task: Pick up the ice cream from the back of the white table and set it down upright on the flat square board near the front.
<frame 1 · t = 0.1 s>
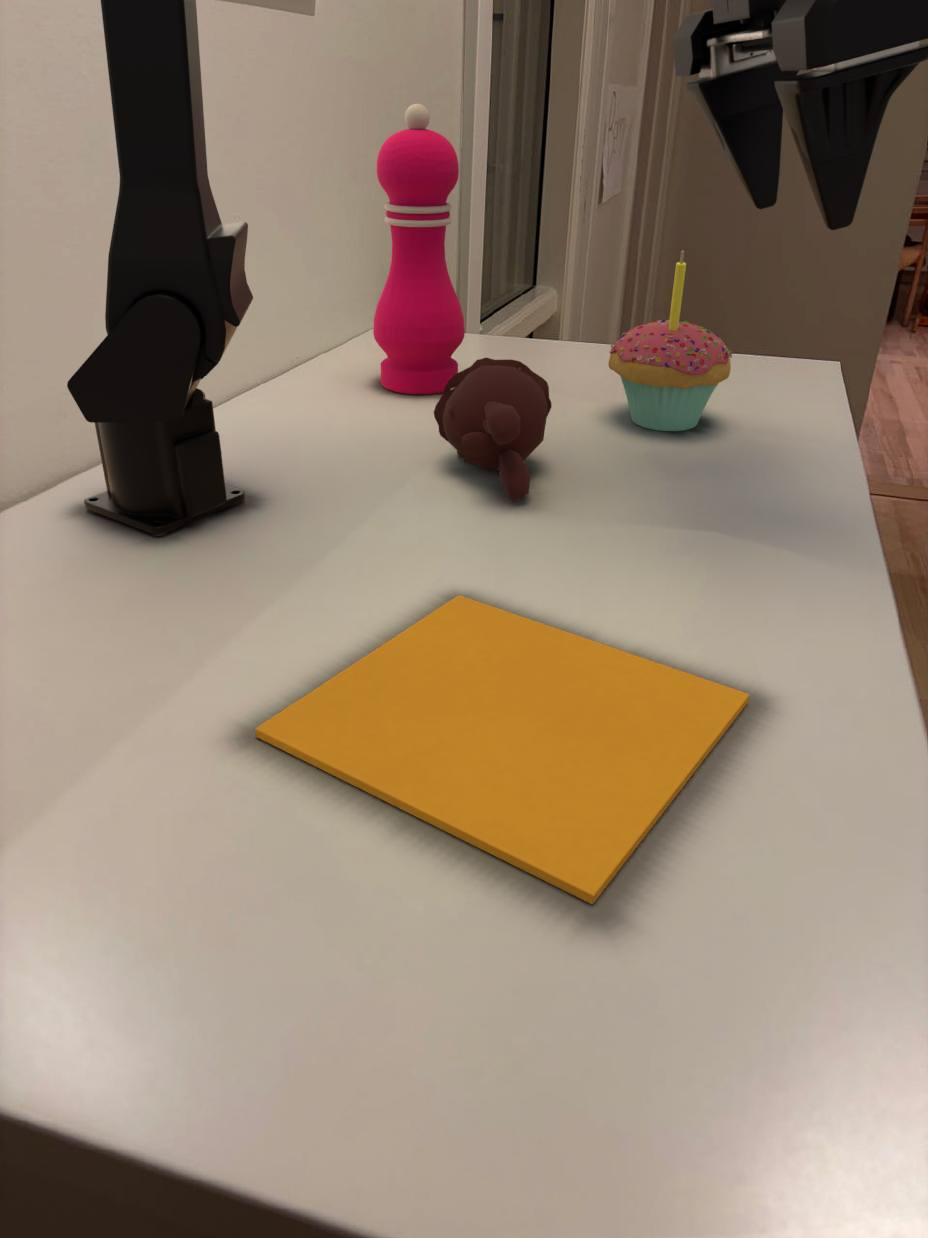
hand: (799, 216, 49), 15 cm above the worktop, tool pointing down, fingers open, 9 cm apart
icecream: (492, 466, 60), on the worktop
flat square board: (510, 719, 36), on the worktop
cupcake: (661, 423, 68), on the worktop
pepper mill: (419, 386, 76), on the worktop
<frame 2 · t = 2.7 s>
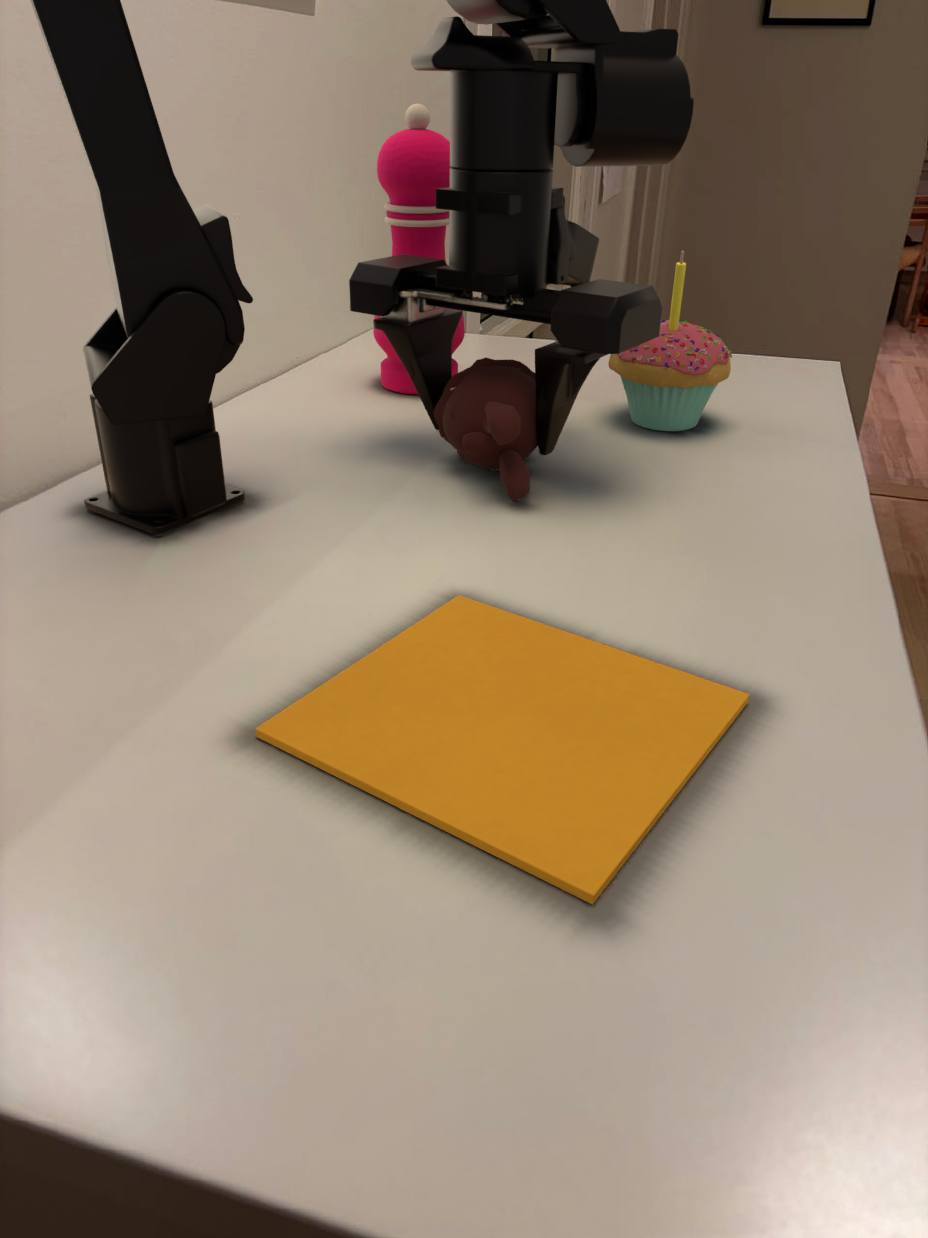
hand: (492, 440, 59), 2 cm above the worktop, tool pointing down, fingers closed on icecream, 7 cm apart
icecream: (492, 466, 60), on the worktop, touching gripper
everything else where it was.
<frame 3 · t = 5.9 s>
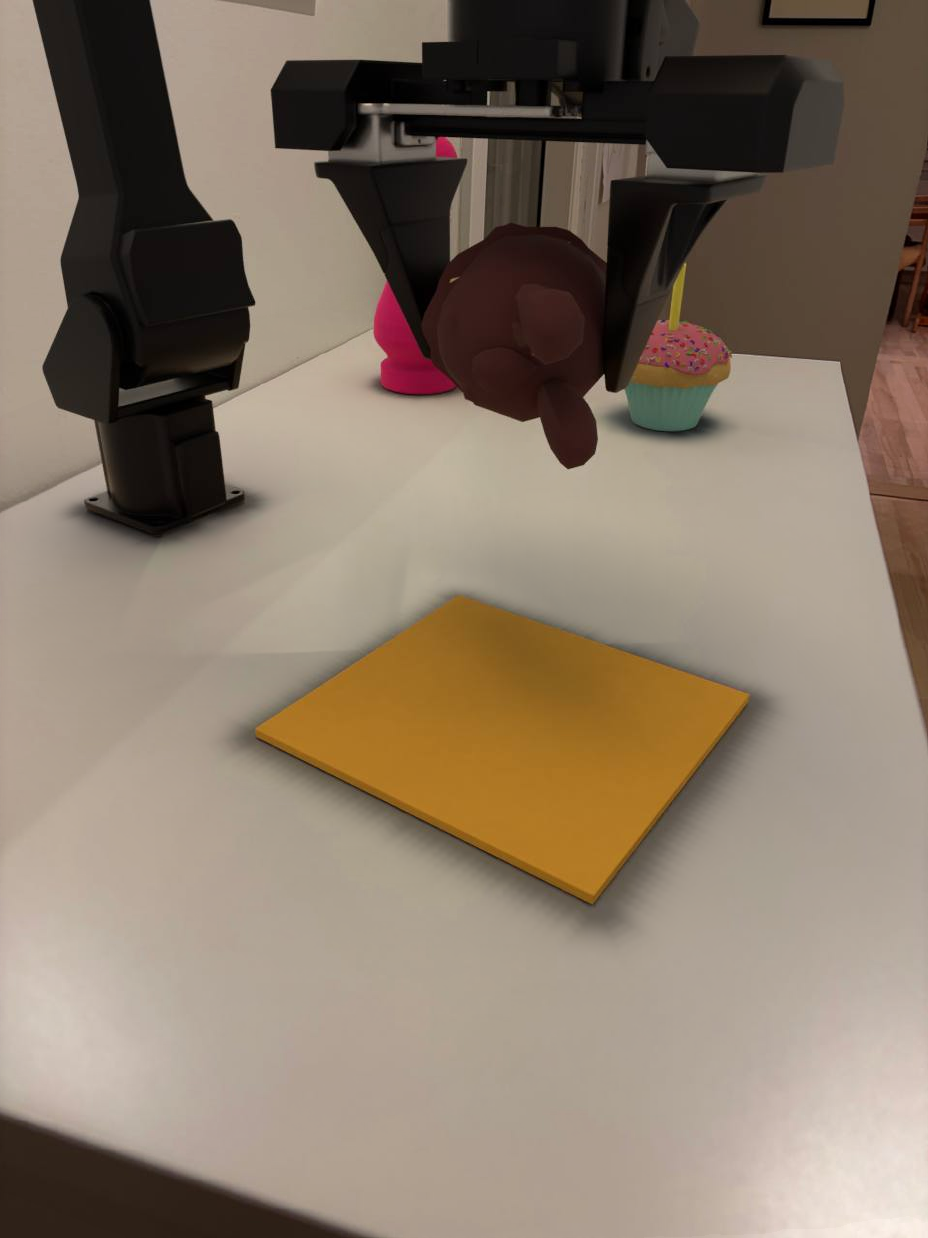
hand: (521, 373, 35), 12 cm above the worktop, tool pointing down, fingers closed on icecream, 7 cm apart
icecream: (520, 417, 36), point 10 cm above the worktop, touching gripper
everything else where it was.
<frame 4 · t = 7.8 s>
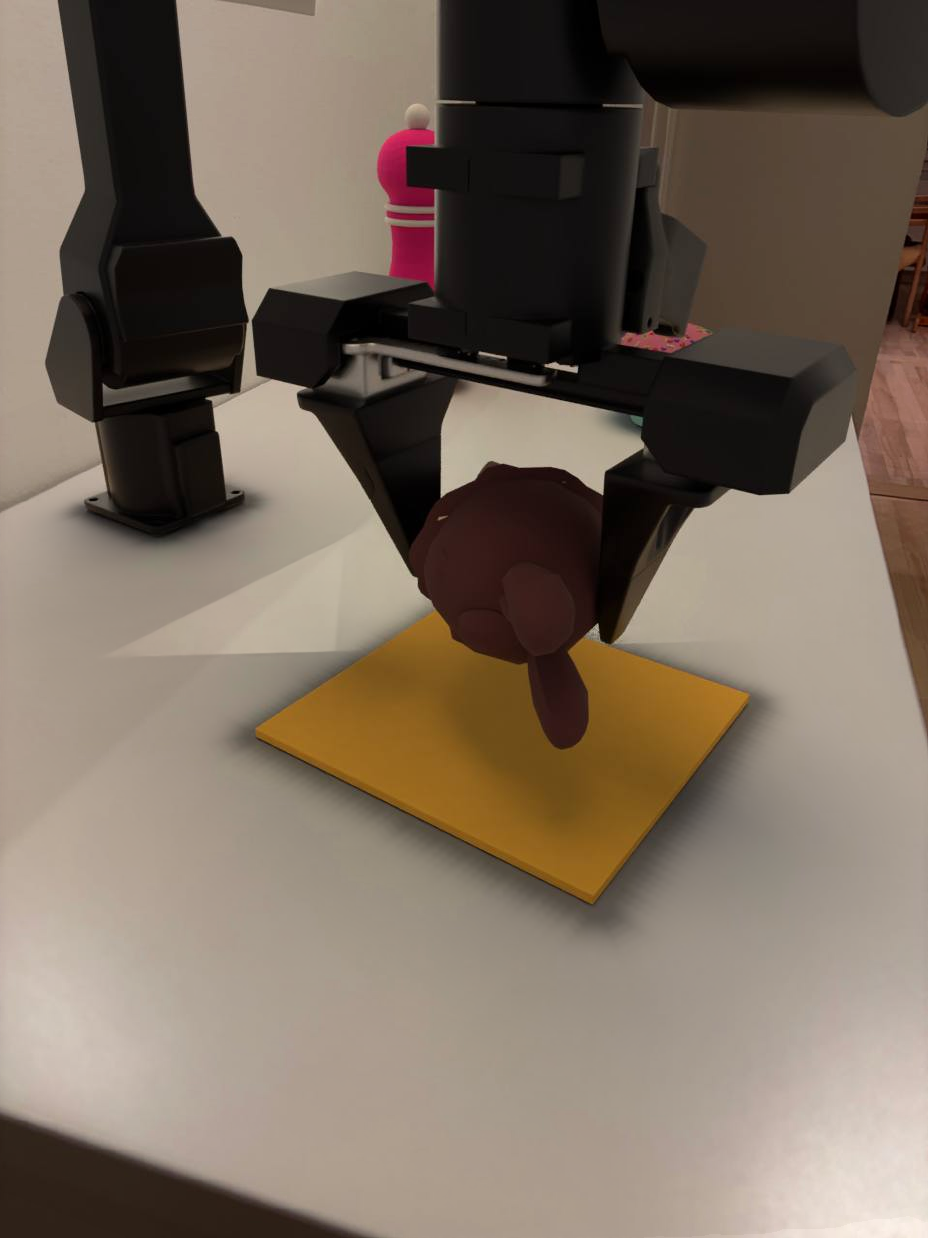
hand: (513, 604, 33), 5 cm above the worktop, tool pointing down, fingers closed on icecream, 7 cm apart
icecream: (511, 645, 34), point 3 cm above the worktop, touching gripper
everything else where it was.
when the fingers open (2 cm above the worktop, at t = 9.2 s): icecream stays where it is, resting on flat square board.
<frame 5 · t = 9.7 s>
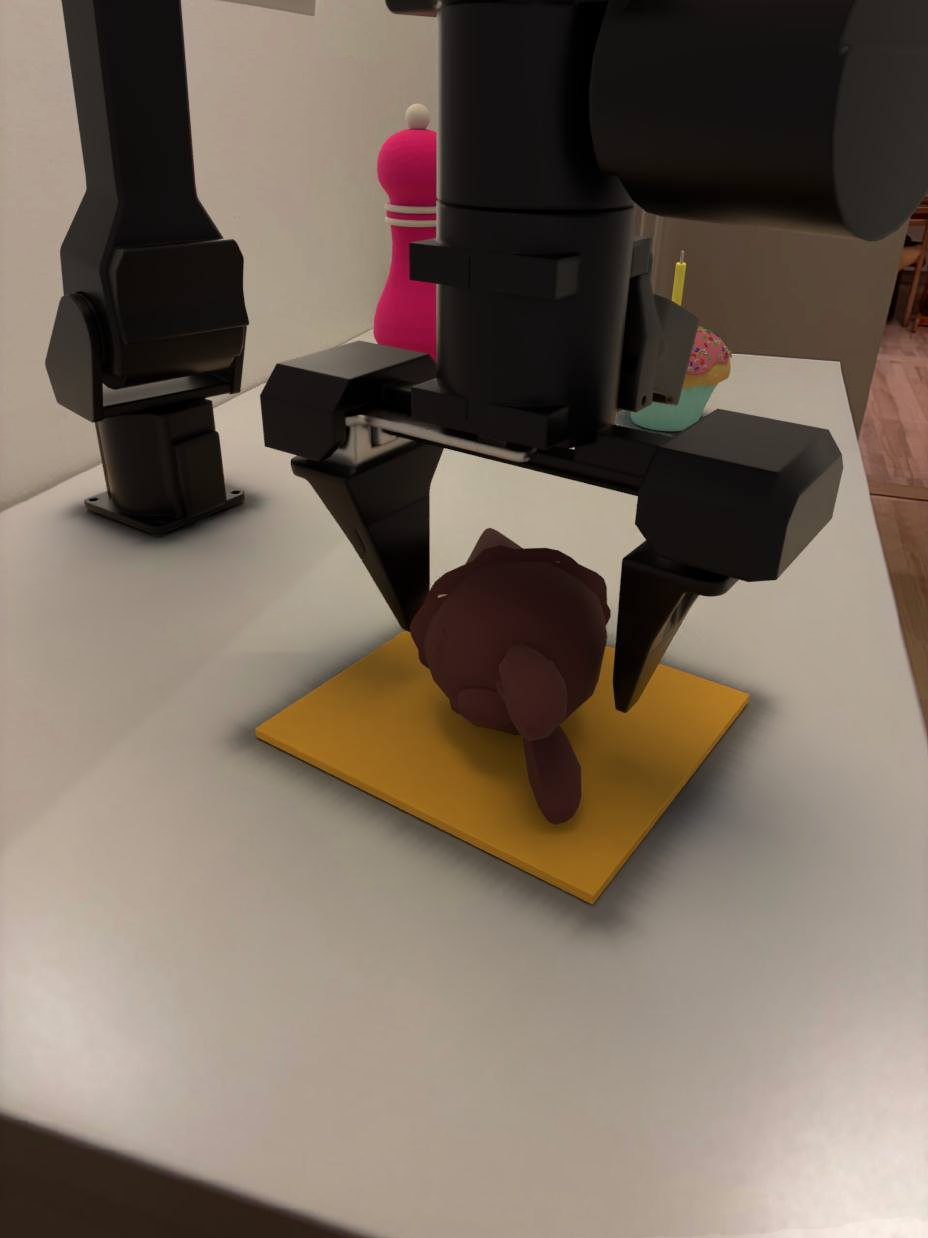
hand: (513, 664, 34), 2 cm above the worktop, tool pointing down, fingers open, 9 cm apart
icecream: (508, 712, 36), resting on flat square board
everything else where it was.
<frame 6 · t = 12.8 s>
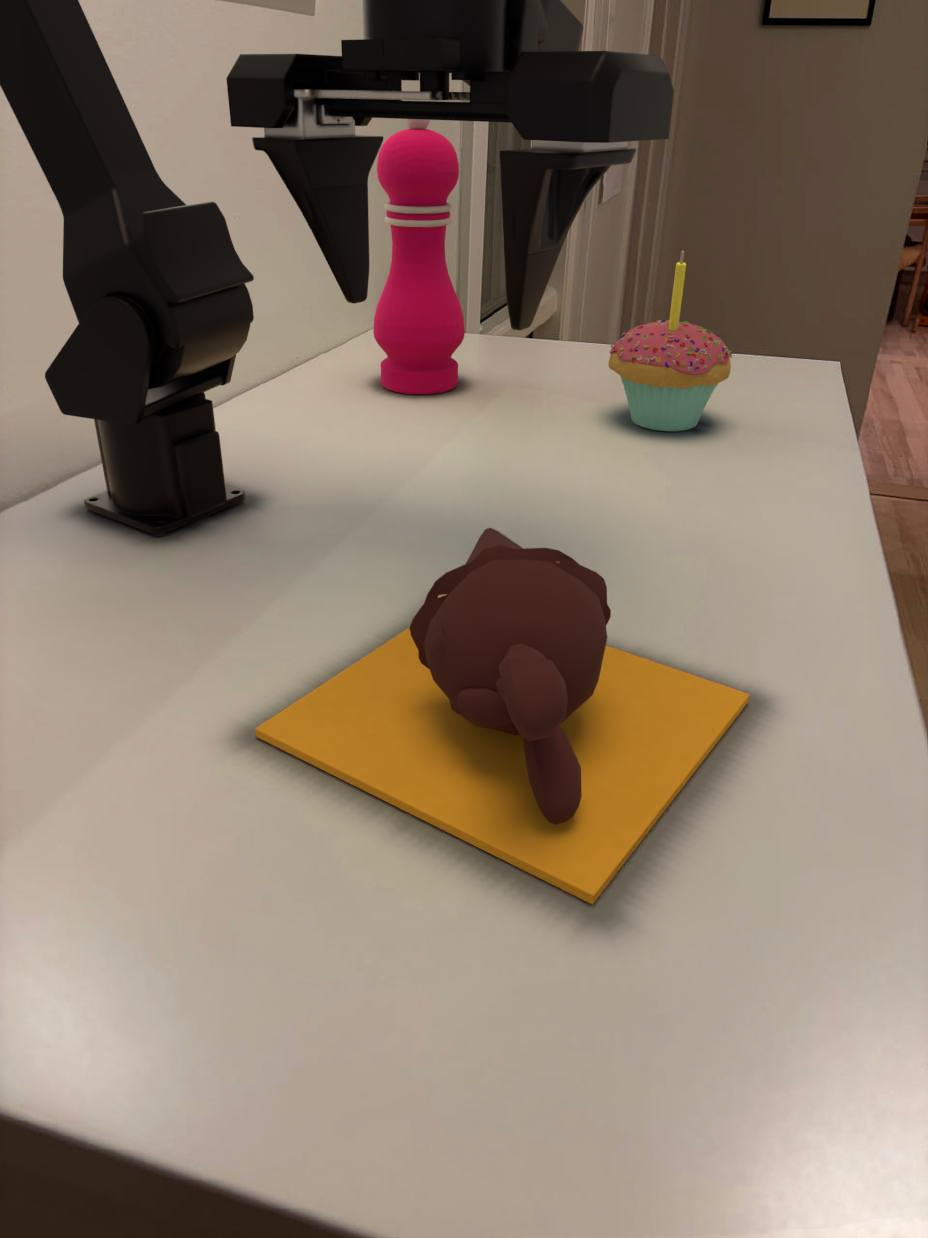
hand: (434, 314, 42), 12 cm above the worktop, tool pointing down, fingers open, 9 cm apart
nothing on the worktop moved.
at the end: icecream inside the target area on the flat square board (0.2 cm from its centre), point 0.2 cm above the flat square board's base; the gripper is holding nothing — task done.
